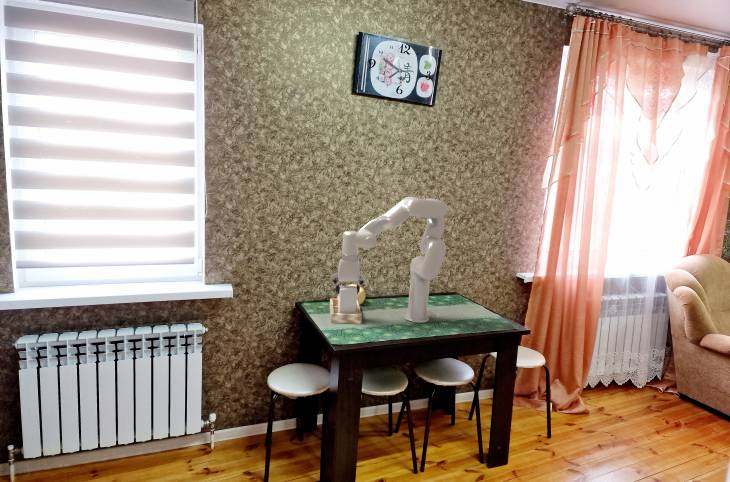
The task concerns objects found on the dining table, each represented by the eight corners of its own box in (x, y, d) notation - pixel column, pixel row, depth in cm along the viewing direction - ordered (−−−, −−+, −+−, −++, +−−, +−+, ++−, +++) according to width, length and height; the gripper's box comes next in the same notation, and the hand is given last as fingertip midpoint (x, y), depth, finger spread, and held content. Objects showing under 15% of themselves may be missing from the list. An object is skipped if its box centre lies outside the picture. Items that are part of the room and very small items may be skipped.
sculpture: (338, 304, 247) (340, 285, 245) (348, 299, 258) (349, 280, 256) (358, 309, 243) (360, 288, 241) (367, 303, 254) (369, 283, 252)
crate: (356, 308, 243) (357, 299, 242) (361, 325, 219) (361, 315, 218) (329, 307, 241) (330, 298, 240) (331, 324, 217) (331, 314, 217)
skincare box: (353, 314, 228) (355, 285, 225) (356, 319, 222) (358, 288, 219) (336, 314, 226) (338, 284, 223) (338, 319, 220) (340, 288, 218)
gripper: (367, 256, 223) (364, 291, 227) (330, 255, 222) (328, 290, 225) (369, 260, 216) (366, 296, 219) (331, 258, 214) (329, 295, 217)
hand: (347, 293), depth 222 cm, fingers closed on skincare box, 8 cm apart
